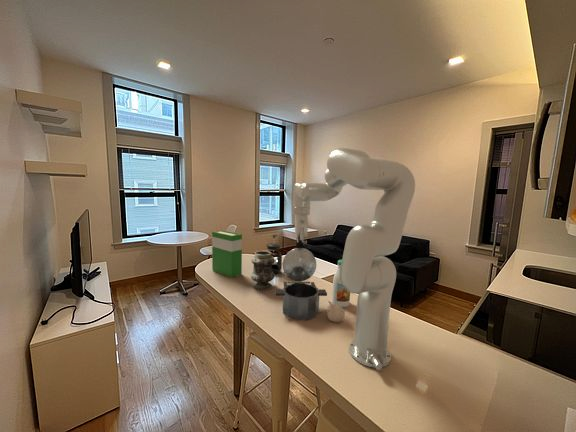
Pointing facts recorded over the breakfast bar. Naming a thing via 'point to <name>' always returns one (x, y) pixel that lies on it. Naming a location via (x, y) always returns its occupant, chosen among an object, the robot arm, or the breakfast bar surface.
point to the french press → (277, 263)
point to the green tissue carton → (227, 253)
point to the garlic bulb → (335, 313)
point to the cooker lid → (299, 265)
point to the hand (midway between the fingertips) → (299, 250)
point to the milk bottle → (339, 290)
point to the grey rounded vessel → (262, 270)
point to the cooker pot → (300, 300)
